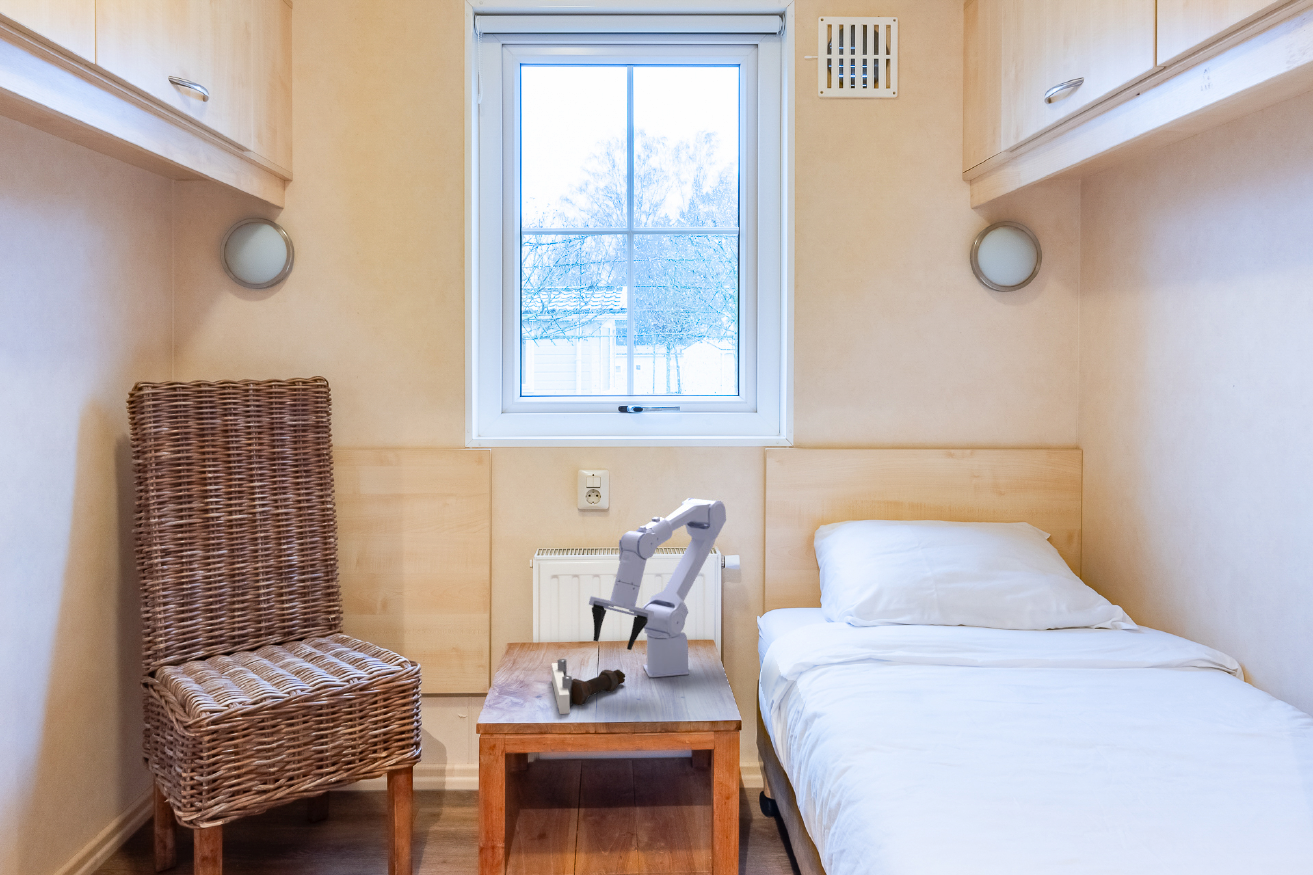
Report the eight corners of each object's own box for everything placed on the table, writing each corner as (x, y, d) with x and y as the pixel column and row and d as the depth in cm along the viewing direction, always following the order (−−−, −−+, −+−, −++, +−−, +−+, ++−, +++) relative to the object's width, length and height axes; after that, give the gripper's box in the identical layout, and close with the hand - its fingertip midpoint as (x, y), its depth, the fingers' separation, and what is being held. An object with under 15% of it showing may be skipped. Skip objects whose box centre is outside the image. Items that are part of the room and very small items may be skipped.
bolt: (623, 693, 185) (577, 711, 173) (609, 677, 188) (562, 695, 176) (633, 673, 183) (587, 691, 171) (618, 658, 186) (572, 674, 174)
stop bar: (564, 679, 189) (564, 653, 188) (574, 712, 169) (574, 684, 169) (551, 680, 188) (551, 654, 188) (559, 714, 168) (559, 685, 168)
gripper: (593, 574, 180) (577, 636, 177) (656, 590, 178) (641, 653, 175) (599, 578, 187) (583, 637, 184) (660, 592, 185) (645, 653, 182)
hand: (612, 645), depth 180 cm, fingers open, 7 cm apart
